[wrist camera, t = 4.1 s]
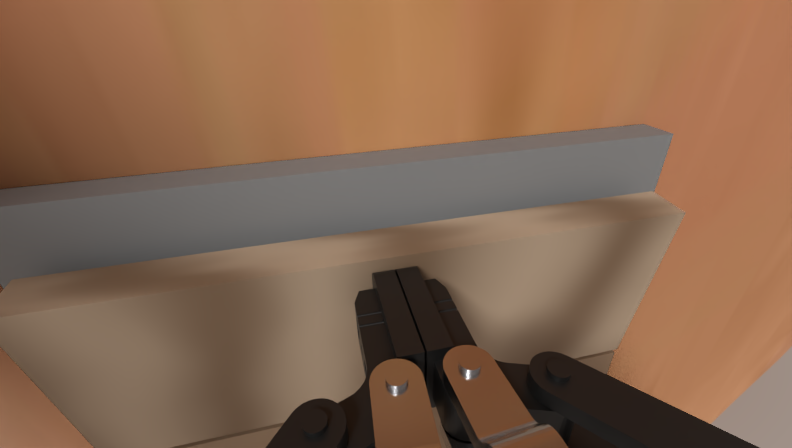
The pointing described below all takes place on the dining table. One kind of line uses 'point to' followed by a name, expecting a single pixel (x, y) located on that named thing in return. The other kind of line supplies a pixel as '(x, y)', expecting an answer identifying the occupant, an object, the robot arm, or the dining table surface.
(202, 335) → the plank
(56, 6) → the dining table surface
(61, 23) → the dining table surface
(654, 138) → the panel
